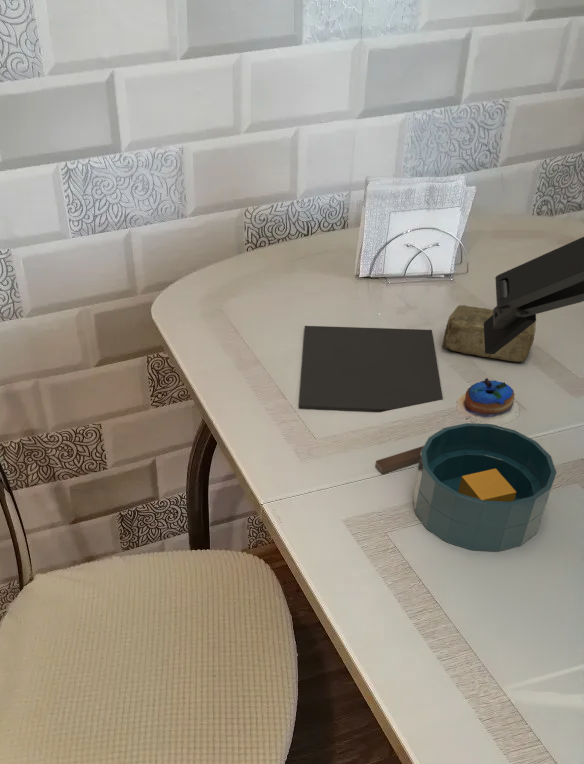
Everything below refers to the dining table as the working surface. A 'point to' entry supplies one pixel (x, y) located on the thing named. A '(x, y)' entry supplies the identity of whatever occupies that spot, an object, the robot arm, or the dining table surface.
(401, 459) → the stop rail
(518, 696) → the dining table surface
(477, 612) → the dining table surface
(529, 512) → the bowl
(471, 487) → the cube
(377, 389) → the mat
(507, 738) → the dining table surface
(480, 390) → the dessert
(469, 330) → the stone block
